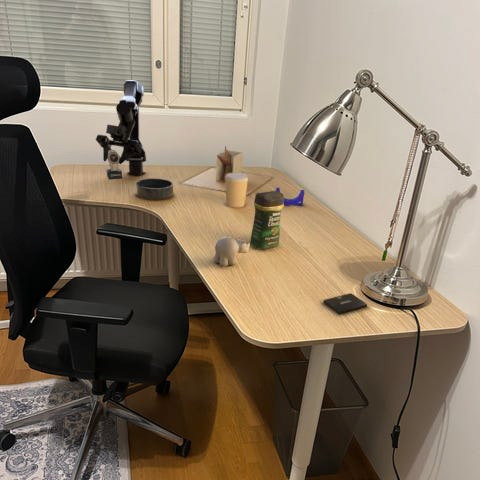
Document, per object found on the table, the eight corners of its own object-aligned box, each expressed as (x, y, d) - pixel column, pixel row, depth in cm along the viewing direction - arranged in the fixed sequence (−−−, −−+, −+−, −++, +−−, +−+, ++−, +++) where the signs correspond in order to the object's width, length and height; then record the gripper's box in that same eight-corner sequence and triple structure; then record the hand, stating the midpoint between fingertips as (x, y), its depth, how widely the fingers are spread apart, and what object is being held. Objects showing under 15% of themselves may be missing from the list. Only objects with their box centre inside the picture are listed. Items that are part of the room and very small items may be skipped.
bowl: (151, 187, 206) (151, 176, 203) (180, 194, 200) (179, 182, 198) (129, 195, 194) (128, 183, 192) (158, 203, 189) (158, 191, 186)
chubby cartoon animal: (254, 263, 146) (256, 238, 141) (221, 269, 140) (222, 243, 136) (242, 254, 151) (244, 229, 146) (210, 260, 145) (211, 235, 141)
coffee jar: (260, 252, 153) (265, 197, 143) (246, 243, 159) (250, 190, 149) (282, 247, 158) (289, 193, 148) (269, 239, 163) (274, 186, 154)
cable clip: (274, 204, 197) (275, 190, 193) (274, 201, 200) (276, 187, 197) (302, 207, 196) (304, 193, 193) (302, 203, 200) (304, 190, 197)
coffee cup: (249, 203, 196) (252, 175, 189) (240, 209, 188) (242, 180, 182) (230, 199, 199) (231, 171, 192) (220, 205, 191) (221, 176, 185)
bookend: (215, 181, 220) (216, 145, 212) (224, 176, 229) (226, 141, 220) (232, 184, 218) (234, 147, 209) (241, 179, 227) (243, 143, 218)
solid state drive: (322, 302, 127) (323, 299, 127) (350, 295, 131) (351, 293, 131) (339, 314, 122) (339, 312, 122) (367, 306, 126) (368, 304, 126)
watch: (109, 180, 188) (106, 153, 182) (106, 175, 194) (103, 148, 188) (123, 180, 190) (121, 152, 184) (119, 174, 196) (117, 147, 190)
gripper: (95, 113, 185) (82, 147, 182) (136, 119, 180) (123, 154, 177) (108, 130, 196) (96, 163, 193) (147, 136, 191) (135, 170, 188)
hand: (111, 162), depth 188 cm, fingers closed on watch, 7 cm apart
